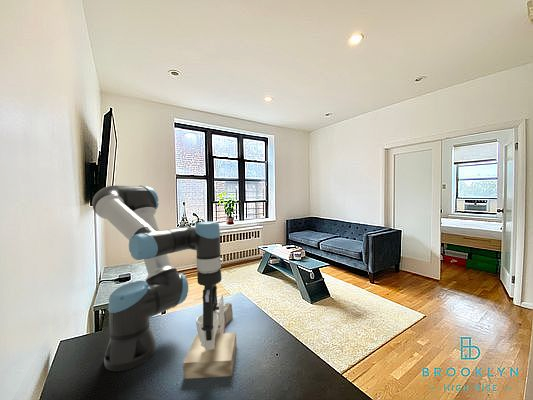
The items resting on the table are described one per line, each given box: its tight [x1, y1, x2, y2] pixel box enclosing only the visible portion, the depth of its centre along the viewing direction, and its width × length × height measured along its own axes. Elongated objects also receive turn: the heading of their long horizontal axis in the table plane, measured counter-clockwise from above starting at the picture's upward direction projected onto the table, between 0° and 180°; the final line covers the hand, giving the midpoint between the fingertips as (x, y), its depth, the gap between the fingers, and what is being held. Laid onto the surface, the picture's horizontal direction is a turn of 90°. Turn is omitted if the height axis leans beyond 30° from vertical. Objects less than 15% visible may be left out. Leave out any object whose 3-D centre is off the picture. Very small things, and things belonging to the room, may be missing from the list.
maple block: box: [182, 332, 237, 380], centre depth 75 cm, size 14×14×5 cm
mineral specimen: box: [224, 302, 233, 326], centre depth 97 cm, size 13×7×6 cm, turn 162°
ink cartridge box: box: [216, 293, 226, 334], centre depth 87 cm, size 9×5×15 cm, turn 2°
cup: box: [195, 313, 219, 348], centre depth 74 cm, size 7×10×8 cm
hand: (211, 338), depth 75 cm, fingers closed on cup, 9 cm apart
